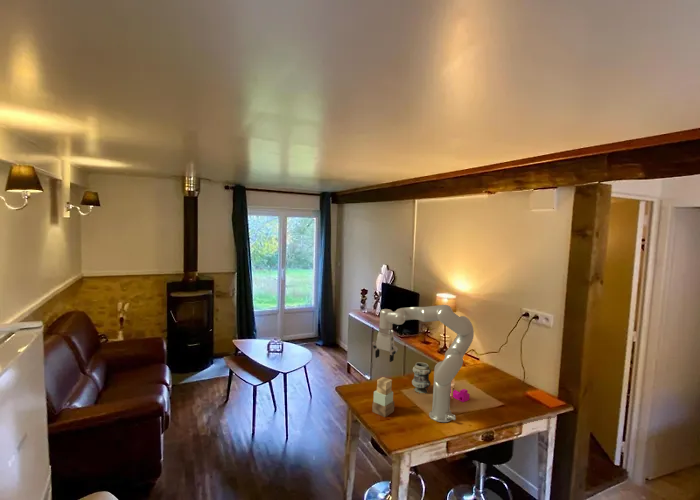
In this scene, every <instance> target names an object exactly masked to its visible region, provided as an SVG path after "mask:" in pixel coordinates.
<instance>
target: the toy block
mask: <svg viewBox="0 0 700 500" xmlns="http://www.w3.org/2000/svg"><path fill="white" fill-rule="evenodd" d="M453 390H454V391H453V397H454V398H453V397H452V398H453V399H456V400H458V401H460V402H461V403H465V402H467V401H469V400H470V393H468V392H469V391H468V389H465V388H462V389H460V391H458V390H457V389H453Z"/></svg>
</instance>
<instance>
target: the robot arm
mask: <svg viewBox="0 0 700 500" xmlns="http://www.w3.org/2000/svg"><path fill="white" fill-rule="evenodd" d="M411 320H412V321H413V320H414V321H415V320H416V321H417V320H418V321H419V322H423V323H428V322H429V323H430V322H440V323H441V324H443V325H444V326H446V327H447V328H448V329H450V330H451V331H452V332H454V333H456V337H455V338H454V340H453V341H452V343H451V344H450V346H449V347H448V349H447V350H446V351H445V353H444V359H443V360H441V361H439V362H437V363H436V364H435V366H434V369H433V388H432V389H433V390H432V405H431V406H432V407H431V408H432V409H431V411H429V413H428V415H429V418H430V419H431V420H433V421H435V422H439V423H449V422H451V421H452V420H453V421H456V420H457V416H456V414H453V413H452V410H450V409H451V396H450V393H451V388H452V381H453V380H454V379H455V377H456V376H457V374H458V373H459V371H461V368H462V366H463V363H464V357H465V354H466V353H467V351H468V350H469V348H470V347H471V345H472V344H473V343H472V342H473V340H474V335H475V333H474V332H475V330H474V327H473V324H472V321H471V320H470V319H469V318H468V317H467V316H465V315H461V316H459V315H458V314H456V313H455V312H454V311H453V309H452V307H451V306H450V305H449V304H438V305H429V306H410V307H400V308H397V309H396V310H394V311H393V310H392V309H388V308H384V309H381V310H380V312H379V327H378V330H379V331H377V332H378V333H377V335H376V340H375V341H372V347H373V349H374V351H375V352H374V355H375V358H376V359H377V358H380V350H382V351H386V352H389V363H392V362H393V361H394V358H395V354H397V352H398V350H399V348H398V346H396V345H395V337H394V335H395V334H394V332H395V331H394V330H393V324H394V325H398V326H399V325H403V324H404V323H405V322H406V321H411Z"/></svg>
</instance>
